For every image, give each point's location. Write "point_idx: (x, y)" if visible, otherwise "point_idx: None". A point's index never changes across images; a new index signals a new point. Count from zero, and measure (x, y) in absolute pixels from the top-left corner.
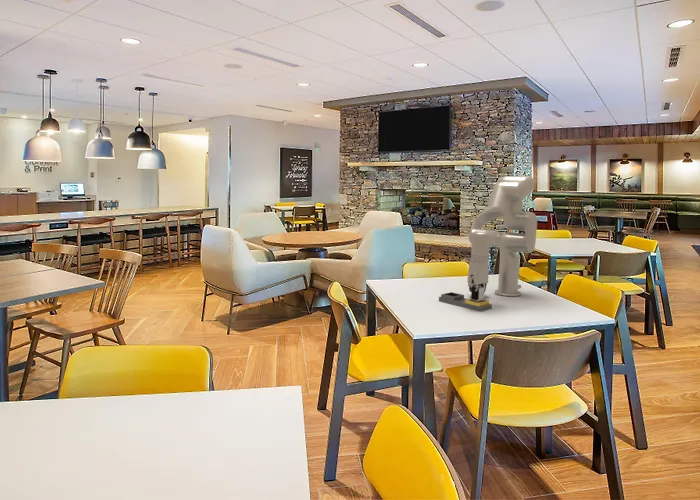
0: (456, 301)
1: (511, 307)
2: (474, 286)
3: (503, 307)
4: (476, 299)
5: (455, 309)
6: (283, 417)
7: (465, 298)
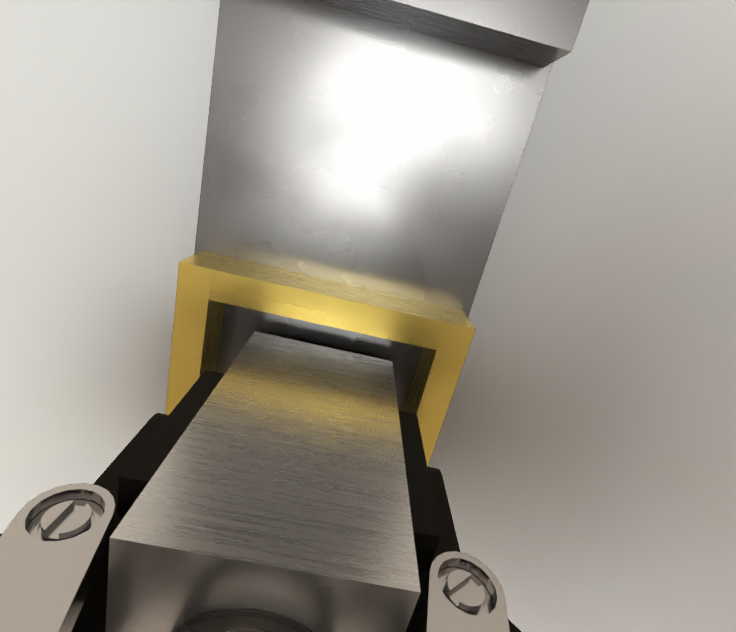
0: (216, 58)
1: (566, 606)
2: (259, 569)
3: (523, 559)
4: None
5: (24, 174)
6: None
7: (524, 108)
